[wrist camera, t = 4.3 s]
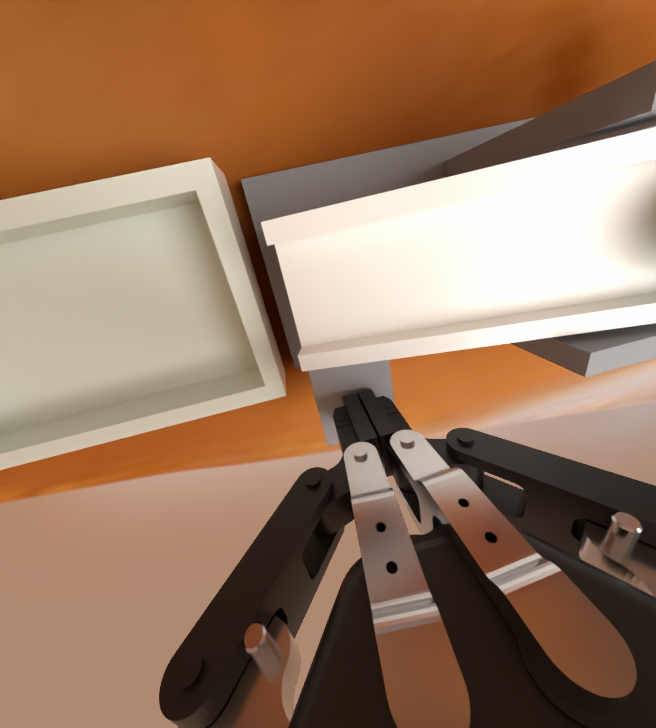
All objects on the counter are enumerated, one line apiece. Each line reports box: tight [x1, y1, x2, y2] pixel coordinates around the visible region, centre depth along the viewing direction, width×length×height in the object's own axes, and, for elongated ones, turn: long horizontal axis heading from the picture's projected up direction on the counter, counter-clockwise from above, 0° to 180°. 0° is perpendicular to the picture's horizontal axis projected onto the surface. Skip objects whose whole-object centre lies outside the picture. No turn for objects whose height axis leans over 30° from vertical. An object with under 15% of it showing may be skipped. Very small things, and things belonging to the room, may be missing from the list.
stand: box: [241, 61, 656, 377], centre depth 13 cm, size 11×27×10 cm, turn 101°
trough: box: [261, 127, 656, 446], centre depth 11 cm, size 12×26×6 cm, turn 101°
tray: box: [0, 157, 286, 470], centre depth 15 cm, size 12×20×4 cm, turn 101°
